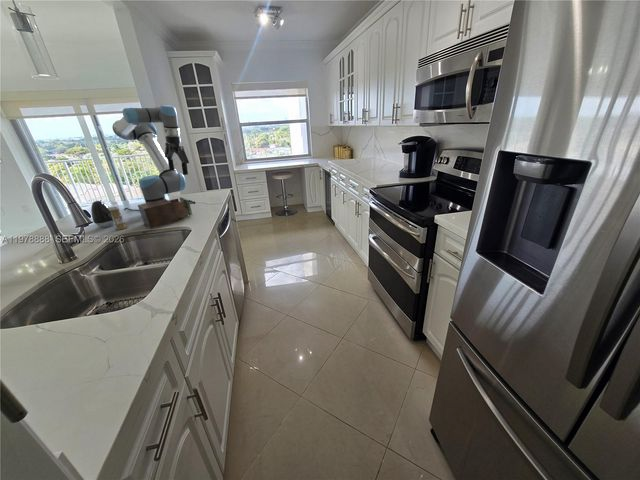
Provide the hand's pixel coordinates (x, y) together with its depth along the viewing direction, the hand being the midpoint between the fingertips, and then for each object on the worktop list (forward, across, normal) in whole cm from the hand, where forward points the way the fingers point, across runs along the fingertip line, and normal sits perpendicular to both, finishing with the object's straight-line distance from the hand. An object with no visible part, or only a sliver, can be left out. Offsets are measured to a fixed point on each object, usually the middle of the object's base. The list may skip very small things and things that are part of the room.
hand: (178, 172), depth 158 cm
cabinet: (+25, +7, -20) cm, 33 cm away
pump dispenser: (+30, -19, -37) cm, 52 cm away
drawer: (+24, +9, -8) cm, 27 cm away
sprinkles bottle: (+28, -5, -36) cm, 45 cm away
